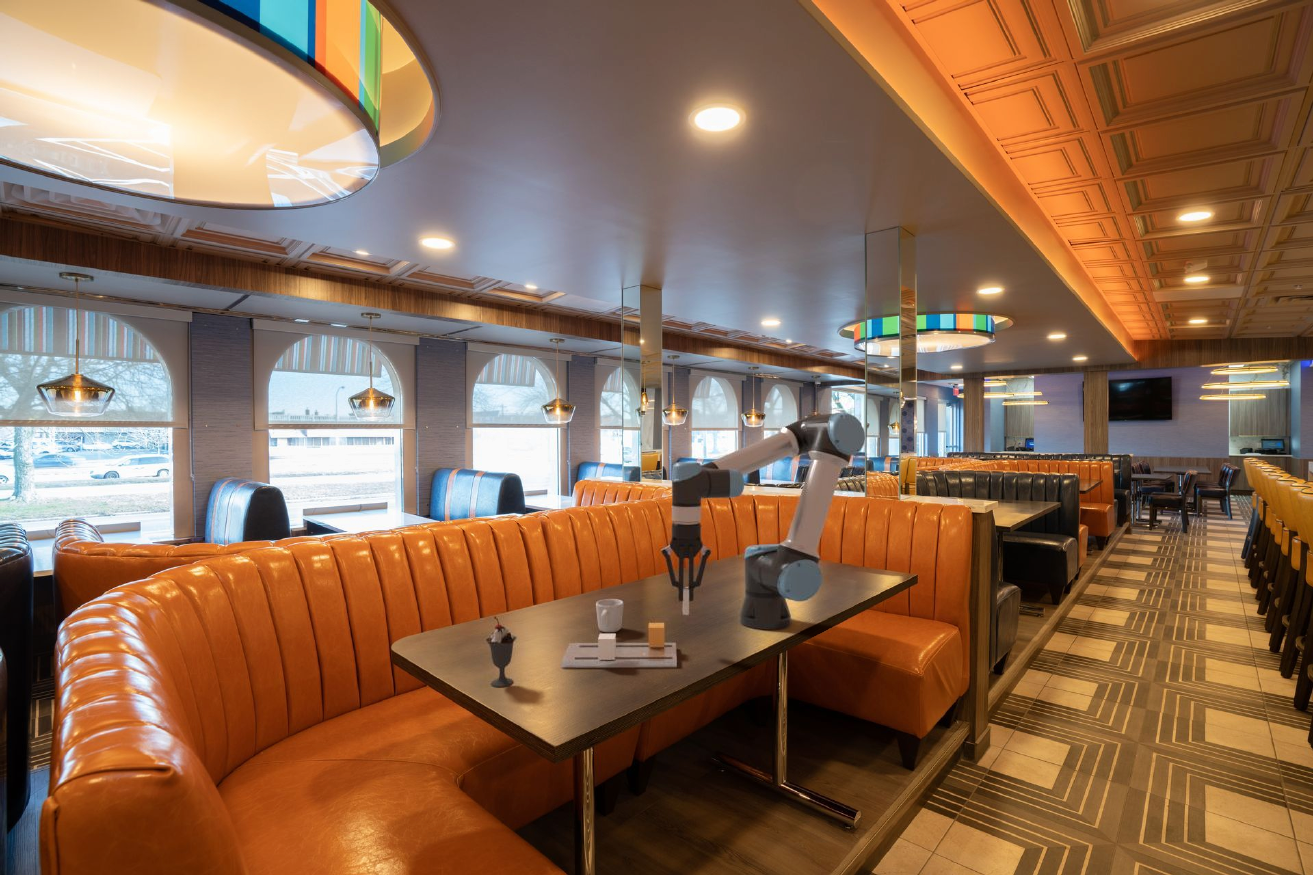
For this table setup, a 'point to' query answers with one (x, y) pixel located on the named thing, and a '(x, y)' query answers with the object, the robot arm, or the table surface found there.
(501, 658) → the sundae
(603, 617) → the cup
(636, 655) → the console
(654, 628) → the fader
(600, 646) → the block
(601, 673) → the table surface
